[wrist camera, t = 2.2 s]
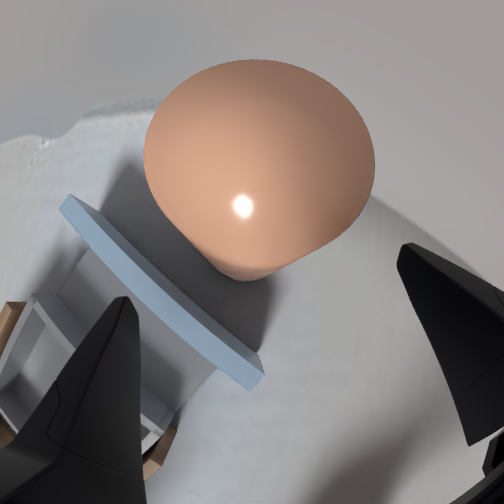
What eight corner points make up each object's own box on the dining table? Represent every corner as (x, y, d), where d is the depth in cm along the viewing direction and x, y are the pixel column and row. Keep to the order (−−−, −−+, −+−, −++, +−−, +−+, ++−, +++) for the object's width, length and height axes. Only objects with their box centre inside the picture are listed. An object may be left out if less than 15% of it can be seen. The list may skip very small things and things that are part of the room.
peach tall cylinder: (302, 235, 19) (406, 143, 6) (251, 298, 18) (282, 316, 5) (241, 185, 19) (248, 37, 6) (188, 245, 19) (101, 158, 6)
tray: (258, 355, 17) (264, 374, 13) (121, 490, 15) (104, 518, 11) (100, 213, 18) (70, 193, 14) (4, 370, 16) (-27, 379, 11)
